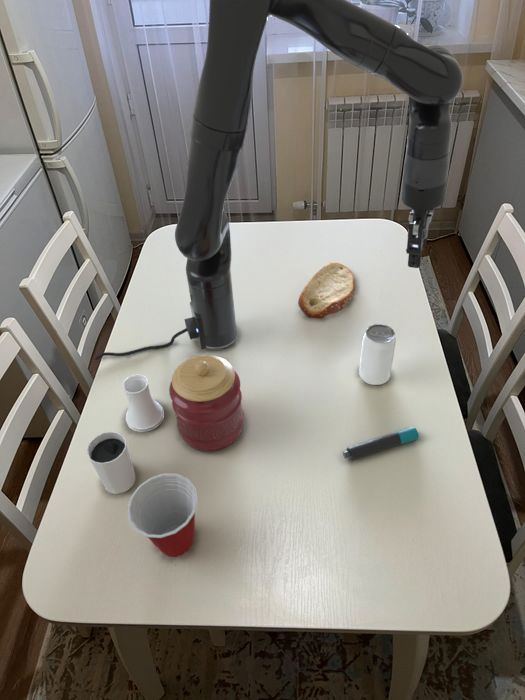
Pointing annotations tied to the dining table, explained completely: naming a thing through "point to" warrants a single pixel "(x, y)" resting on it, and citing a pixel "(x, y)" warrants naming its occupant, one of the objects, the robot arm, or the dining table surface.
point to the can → (377, 354)
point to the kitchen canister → (207, 402)
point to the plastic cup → (165, 512)
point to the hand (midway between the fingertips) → (417, 254)
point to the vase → (141, 405)
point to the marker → (381, 443)
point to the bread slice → (327, 291)
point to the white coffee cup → (112, 461)
